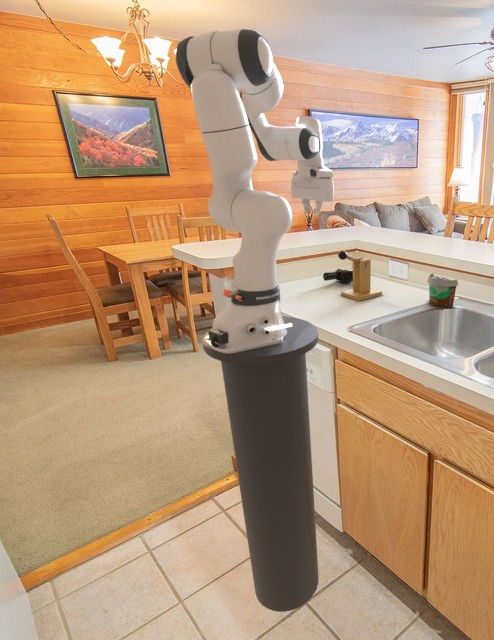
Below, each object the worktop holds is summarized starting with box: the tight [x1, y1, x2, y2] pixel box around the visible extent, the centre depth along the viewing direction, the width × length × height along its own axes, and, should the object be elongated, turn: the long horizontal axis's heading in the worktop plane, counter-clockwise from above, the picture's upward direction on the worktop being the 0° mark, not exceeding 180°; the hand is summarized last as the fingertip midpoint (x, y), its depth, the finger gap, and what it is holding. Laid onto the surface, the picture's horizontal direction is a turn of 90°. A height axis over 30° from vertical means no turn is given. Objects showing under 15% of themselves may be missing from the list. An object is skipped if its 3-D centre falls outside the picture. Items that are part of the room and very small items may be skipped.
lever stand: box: [340, 256, 383, 302], centre depth 163 cm, size 12×10×14 cm
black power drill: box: [322, 268, 353, 284], centre depth 180 cm, size 5×20×15 cm
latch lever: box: [337, 250, 361, 266], centre depth 157 cm, size 13×3×3 cm, turn 137°
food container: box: [426, 272, 459, 309], centre depth 155 cm, size 12×6×10 cm, turn 42°
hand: (312, 213), depth 155 cm, fingers open, 4 cm apart
